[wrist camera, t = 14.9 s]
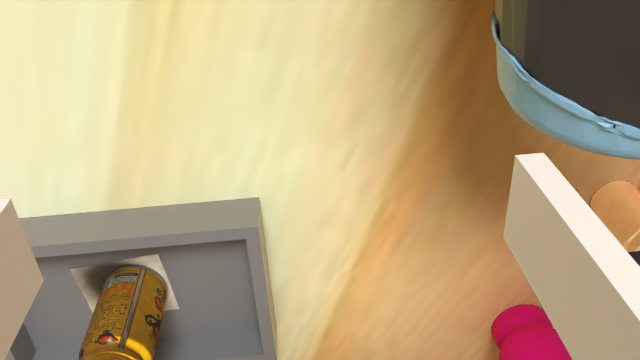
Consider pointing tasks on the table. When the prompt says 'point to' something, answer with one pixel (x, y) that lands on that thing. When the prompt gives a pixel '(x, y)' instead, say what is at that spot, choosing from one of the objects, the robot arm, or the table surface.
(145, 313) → the condiment
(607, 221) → the cup with straw
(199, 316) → the tray
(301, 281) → the table surface
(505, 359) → the pepper mill
